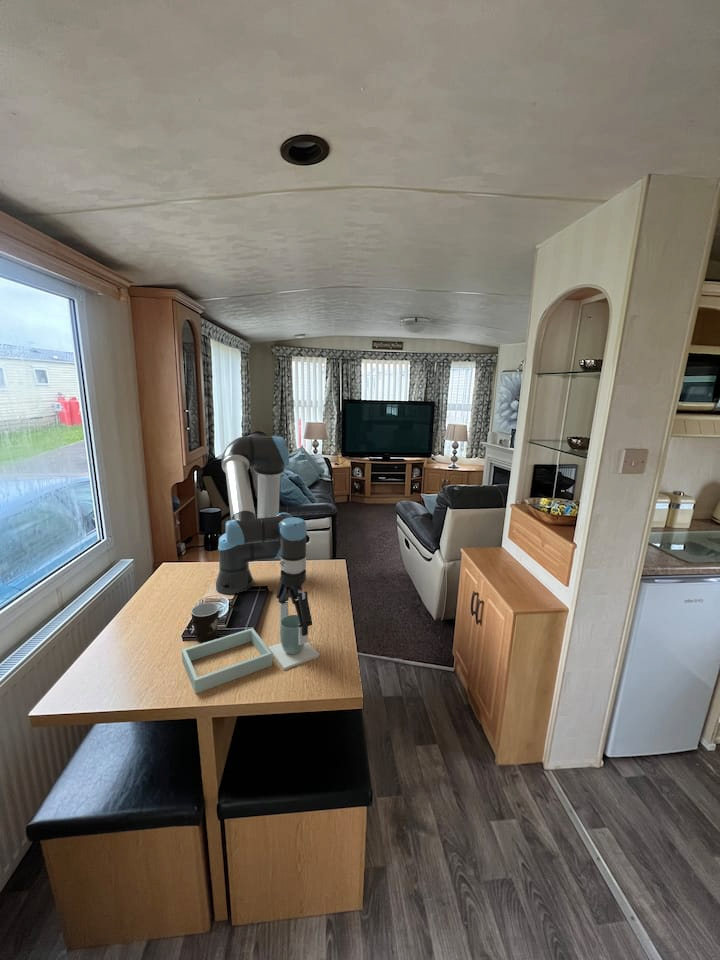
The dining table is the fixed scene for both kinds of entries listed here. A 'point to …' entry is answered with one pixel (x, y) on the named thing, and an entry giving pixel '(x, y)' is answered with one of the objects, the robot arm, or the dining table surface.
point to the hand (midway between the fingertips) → (293, 631)
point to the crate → (230, 671)
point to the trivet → (293, 655)
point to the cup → (290, 634)
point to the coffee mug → (205, 621)
